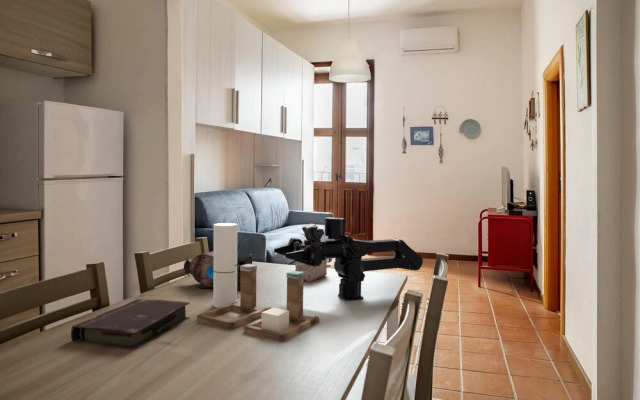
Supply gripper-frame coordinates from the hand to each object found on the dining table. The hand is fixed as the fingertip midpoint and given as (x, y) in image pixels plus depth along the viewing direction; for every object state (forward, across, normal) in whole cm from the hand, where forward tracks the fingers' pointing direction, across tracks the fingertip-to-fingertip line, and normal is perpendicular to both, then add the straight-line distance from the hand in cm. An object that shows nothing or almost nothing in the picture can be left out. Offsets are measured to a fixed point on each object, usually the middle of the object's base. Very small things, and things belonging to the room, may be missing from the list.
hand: (279, 253), depth 146 cm
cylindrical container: (+15, -8, +17) cm, 24 cm away
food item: (-25, -30, +17) cm, 43 cm away
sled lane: (+7, +21, +16) cm, 28 cm away
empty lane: (+16, +8, +16) cm, 24 cm away
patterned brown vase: (+11, -33, +17) cm, 39 cm away
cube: (+10, +23, +16) cm, 30 cm away
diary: (+42, +4, +17) cm, 45 cm away
